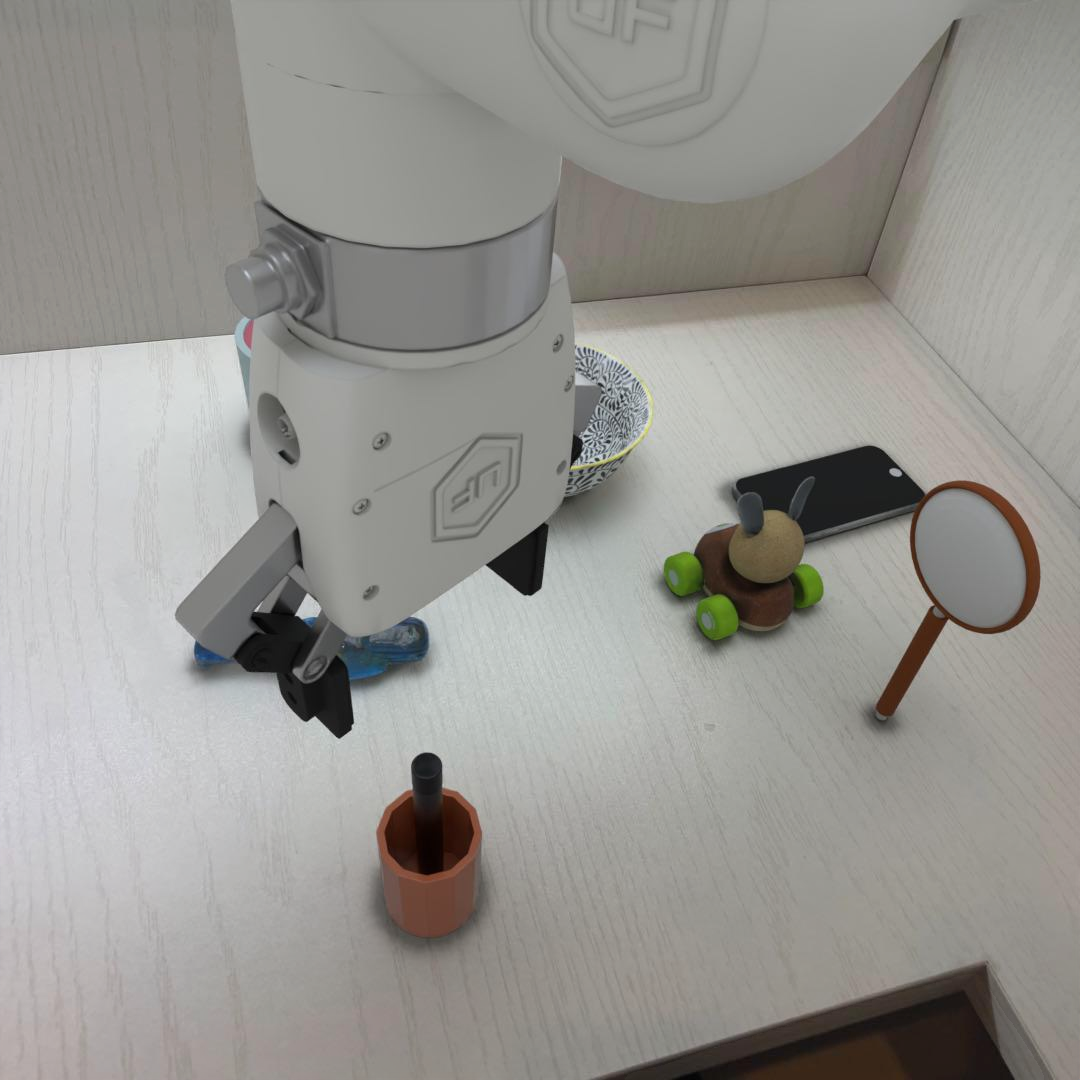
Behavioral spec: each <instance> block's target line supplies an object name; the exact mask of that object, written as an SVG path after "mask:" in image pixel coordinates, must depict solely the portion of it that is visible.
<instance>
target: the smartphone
mask: <svg viewBox="0 0 1080 1080" xmlns="http://www.w3.org/2000/svg"><path fill="white" fill-rule="evenodd" d="M809 477H814V478H815V482H814V485H813V486H812V489H811V490H810V492H809V494H808V496H807V499H806V501H805V504H804V506H803V509H802V512H801V514H800V516H799V518H798V519H797V520H796V522H797V523H798V525H799V526H800V528H801V530H802V533H803V536H804V543H808V542H811V541H814V540H817V539H822V538H824V537H828V536H831V535H834V534H839V533H842V532H845V531H848V530H851V529H855V528H859V527H862V526H865V525H869V524H872V523H875V522H879V521H882V520H886V519H890V518H892V517H896V516H899V515H904V514H906V513H910V512H913V511H915V510H916V508H917V506H918V504H919V503H920V501H921V500H922V499H923V497H924V496H925V495H926V494H927V493H926V492H925V491H924V490H923V489H922V488H921V487H920V486H919V485H918V484H917V483H916V481H914V479H912V478H911V477H910V476H909V475H908V473H906V472H905V471H904V470H903V469H902V467H900V466H899V465H898V464H897V463H896V462H895V461H894V459H892V458H891V457H890V455H888V454H887V453H886V451H884V449H882V448H880V447H878V446H875V445H863V446H860V447H856V448H852V449H847V450H844V451H840V452H836V453H833V454H829V455H824V456H821V457H818V458H813V459H809V460H805V461H802V462H798V463H795V464H790V465H787V466H780V467H777V468H774V469H771V470H767V471H764V472H760V473H755V474H753V475H748V476H745V477H740V478H738V479H737V480H735V481H734V482H733V484H732V488H731V492H732V495H733V497H734V498H735V499H736V500H737V501H738V499H739V498H740V497H741V496H742V495H744V494H745V493H748V492H754V493H757V494H758V495H759V496H760V497H761V500H762V507H763V511H766V510H778V511H781V512H784V513H786V514H788V513H789V508H790V504H791V501H792V499H793V497H794V495H795V493H796V491H797V489H798V487H799V486H800V484H801V483H802V482H803V481H804V480H805V479H807V478H809Z"/></svg>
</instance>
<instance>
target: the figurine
mask: <svg viewBox="0 0 1080 1080" xmlns="http://www.w3.org/2000/svg"><path fill="white" fill-rule="evenodd" d="M317 617H318V616H310V617H309V616H308V617H305V618H301V619H302V620H303V621H304V622H305V623H306V624H307V625H308V626H309V627H312V626H313V624H314V622H315V620H316V618H317ZM194 640H195V639H194ZM429 649H430V632H429V627H428V626H427V624H426V622H424V620H423V619H420V618H418V617H415V616H410V617H408V618H407V619H405V620H403V621H402V622H400V623H398V624H397V625H395V626H393V627H391V628H389V629H386V630H384V631H382V632H379V633H375V634H372V635H368V636H362V637H352V636H350V635H348V634H347V636H346V638H345V640H344V641H343V643H342V645H341V647H340V649H339V650H338V652H337V654H336V655H337V656H338V657H339V658H340V659H341V660H342V661H343V662H344V663H345V664H346V666H347V668H348V674H349V681H353V680H354V681H355V680H361V679H365V678H369V677H373V676H377V675H381V674H383V673H385V672H386V670H387V668H388V667H389V666H394V665H399V664H406V663H413V662H420V661H422V660H424V658H425V657H426V656H427V654H428V652H429ZM193 655H194V658H195V663H196V664H197V667H199V668H201V669H207V668H208V667H210V666H212V665H215V664H237V663H236V662H234V661H232V660H227V659H225V658H223V657H222V656H220V655H218V654H216V653H214V652H212V651H210V650H208V649H206V648H204V647H202V646H201V645H200V644H199V643H198V642H197V641H196V640H195V641H194V645H193Z"/></svg>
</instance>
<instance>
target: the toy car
mask: <svg viewBox="0 0 1080 1080" xmlns="http://www.w3.org/2000/svg"><path fill="white" fill-rule="evenodd" d="M814 482H815V478H814V477H809V478H807V479H805V480H804V481H803V482H802V483H801V484H800V486H799V487H798V489H797V491H796V493H795V495H794V497H793V499H792V501H791V504H790V508H789V513H788V514H786V513H784V512H781V511H778V510H766V511H763V507H762V500H761V497H760V496H759V495H758V494H757V493H754V492H748V493H745V494H744V495H742V496H741V497H740V498H739V499H738V500H737V501H736V510H737V514H738V517H739V522H738V523H737V522H736V523H735V522H728V523H722V524H718V525H716V526H714V527H712V528H710V529H709V530H707V531H706V532H705V533H704V534H703V535H702V536H701V538H700V539H699V541H698V542H697V544H696V546H695V549H694V552H693V553H692V552H690V551H681V552H678V553H675V554H672V555H670V556H668V557H667V558H666V559H665V560H664V563H663V573H664V577H665V581H666V583H667V586H668V587H669V589H670V590H671V591H672V592H673V593H674V594H676V595H677V596H680V597H683V596H688V595H689V594H692V593H696V592H697V591H699V590H701V588H702V590H703V591H704V592H705V593H706V594H707V596H708V597H705V598H702V599H701V600H699V602H698V604H697V605H696V610H695V611H696V612H695V613H696V619H697V623H698V625H699V628H700V631H702V633H703V634H704V636H706V637H707V638H709V639H710V640H713V641H718V640H721V639H724V638H727V637H729V636H732V635H734V634H735V633H736V632H737V630H738V628H739V626H741V627H742V628H745V629H746V630H751V631H755V632H766V631H772V630H774V629H777V628H779V627H781V626H782V625H784V624H785V622H786V621H788V620H789V618H790V616H791V614H792V613H793V609H794V607H795V608H797V609H805V608H808V607H810V606H813V605H815V604H817V603H819V602H820V601H821V600H822V598H823V596H824V589H825V587H824V582H823V580H822V576H821V575H820V573H819V571H818V570H817V569H815V568H814V566H812V565H810V564H807V563H801V562H802V559H803V557H804V553H805V545H806V544H805V542H804V536H803V533H802V530H801V528H800V526H799V525H798V523H797V522H796V520H797V519H798V518H799V516H800V514H801V512H802V509H803V506H804V504H805V501H806V499H807V496H808V494H809V492H810V490H811V489H812V486H813V485H814Z"/></svg>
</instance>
